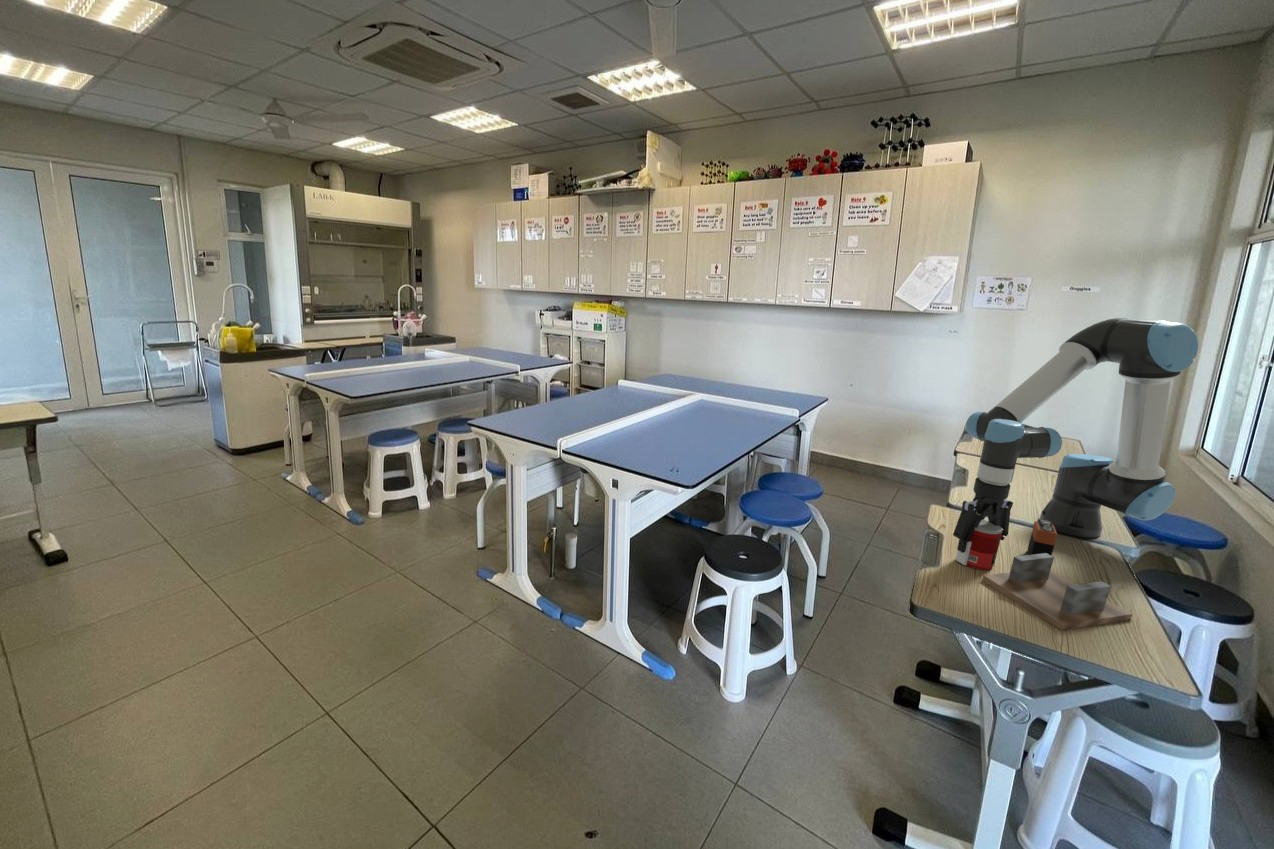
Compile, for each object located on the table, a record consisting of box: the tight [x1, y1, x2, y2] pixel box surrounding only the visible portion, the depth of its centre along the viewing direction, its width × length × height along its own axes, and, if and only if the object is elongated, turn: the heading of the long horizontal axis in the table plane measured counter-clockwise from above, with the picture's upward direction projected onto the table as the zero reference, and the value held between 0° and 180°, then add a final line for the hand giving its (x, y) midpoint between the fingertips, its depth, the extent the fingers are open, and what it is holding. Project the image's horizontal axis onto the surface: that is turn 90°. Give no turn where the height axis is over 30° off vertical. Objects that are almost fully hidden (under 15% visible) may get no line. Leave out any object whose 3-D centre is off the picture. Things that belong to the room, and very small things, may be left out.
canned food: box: [965, 519, 1003, 571], centre depth 141 cm, size 8×8×11 cm
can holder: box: [981, 553, 1133, 631], centre depth 126 cm, size 20×20×8 cm
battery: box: [1027, 520, 1058, 556], centre depth 145 cm, size 4×7×10 cm, turn 150°
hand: (974, 561), depth 142 cm, fingers closed on canned food, 8 cm apart
